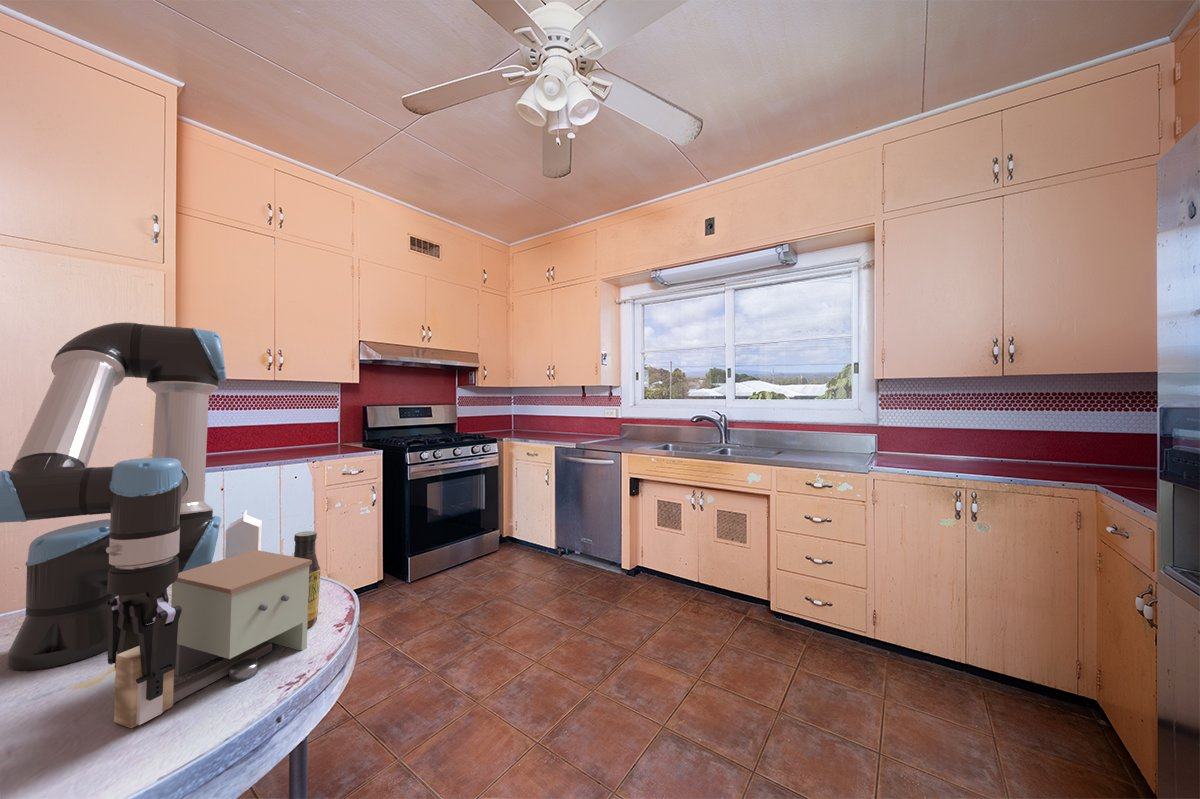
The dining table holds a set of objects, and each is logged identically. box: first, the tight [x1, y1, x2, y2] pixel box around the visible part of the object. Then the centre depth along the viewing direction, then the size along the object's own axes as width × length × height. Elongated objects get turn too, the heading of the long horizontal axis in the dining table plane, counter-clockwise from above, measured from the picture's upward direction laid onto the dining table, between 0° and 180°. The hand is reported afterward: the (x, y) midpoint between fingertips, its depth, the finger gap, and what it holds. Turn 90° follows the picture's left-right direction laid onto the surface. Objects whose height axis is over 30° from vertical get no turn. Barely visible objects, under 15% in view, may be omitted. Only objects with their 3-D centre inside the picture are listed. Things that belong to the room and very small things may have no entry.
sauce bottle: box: [293, 530, 321, 629], centre depth 95 cm, size 7×6×20 cm
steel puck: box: [228, 659, 259, 683], centre depth 78 cm, size 4×4×2 cm
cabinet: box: [170, 550, 312, 677], centre depth 83 cm, size 16×15×17 cm
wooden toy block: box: [113, 641, 273, 729], centre depth 75 cm, size 4×21×10 cm, turn 163°
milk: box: [224, 509, 263, 559], centre depth 104 cm, size 6×6×22 cm
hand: (139, 714), depth 67 cm, fingers closed on wooden toy block, 4 cm apart
